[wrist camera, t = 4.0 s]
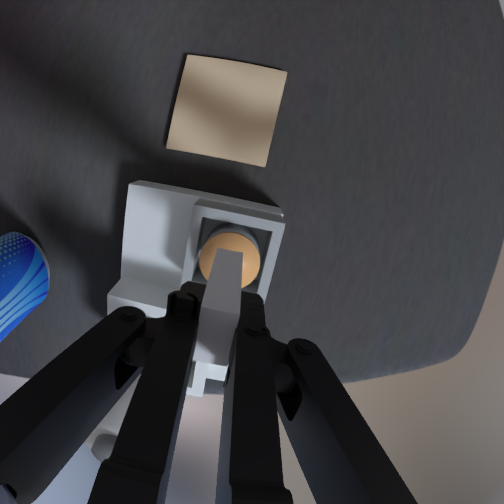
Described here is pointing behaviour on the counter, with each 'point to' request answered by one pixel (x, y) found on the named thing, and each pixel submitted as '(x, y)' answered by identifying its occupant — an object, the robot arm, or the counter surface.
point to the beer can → (20, 279)
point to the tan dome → (234, 240)
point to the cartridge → (110, 426)
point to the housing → (184, 250)
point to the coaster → (226, 109)
